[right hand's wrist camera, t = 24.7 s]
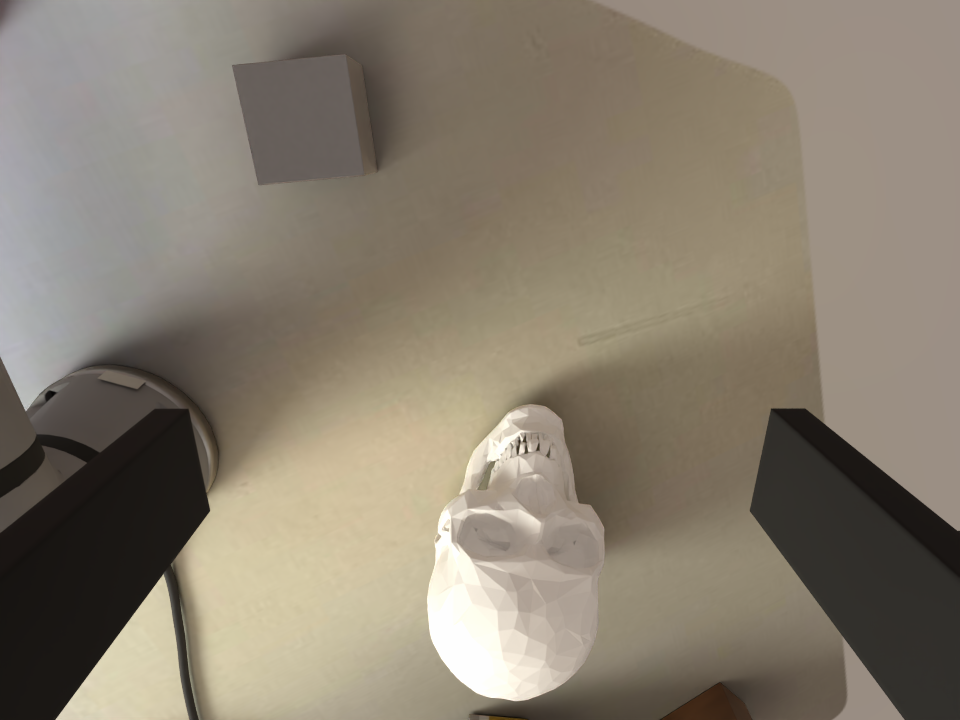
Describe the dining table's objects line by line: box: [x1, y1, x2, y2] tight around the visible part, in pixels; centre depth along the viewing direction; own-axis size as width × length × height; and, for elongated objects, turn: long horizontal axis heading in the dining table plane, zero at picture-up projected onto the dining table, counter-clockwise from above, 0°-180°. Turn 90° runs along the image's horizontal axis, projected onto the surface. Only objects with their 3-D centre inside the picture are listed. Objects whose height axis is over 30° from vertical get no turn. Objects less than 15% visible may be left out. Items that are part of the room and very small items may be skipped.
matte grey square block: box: [232, 54, 378, 185], centre depth 37 cm, size 7×7×5 cm
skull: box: [427, 404, 605, 701], centre depth 43 cm, size 13×22×16 cm, turn 175°
